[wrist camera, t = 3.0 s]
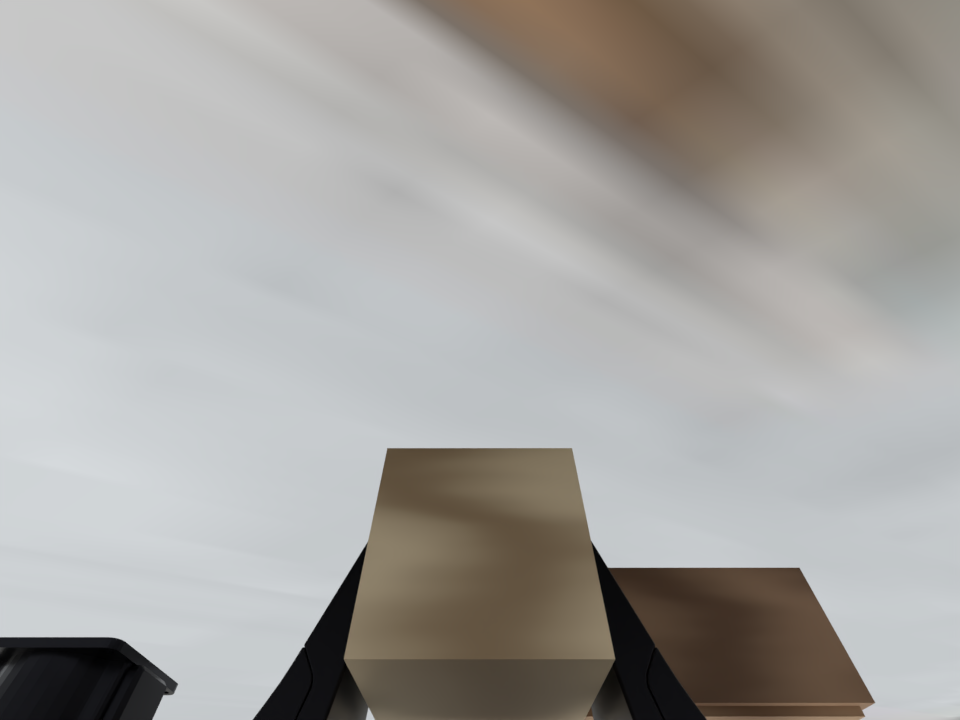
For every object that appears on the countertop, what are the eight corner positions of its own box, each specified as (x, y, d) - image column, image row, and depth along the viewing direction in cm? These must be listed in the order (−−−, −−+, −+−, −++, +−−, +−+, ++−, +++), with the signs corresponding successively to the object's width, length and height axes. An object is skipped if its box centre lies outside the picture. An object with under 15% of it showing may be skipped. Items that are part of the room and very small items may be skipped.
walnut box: (527, 680, 24) (535, 790, 20) (549, 567, 16) (567, 713, 13) (698, 680, 24) (734, 790, 20) (799, 567, 16) (881, 713, 13)
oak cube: (406, 544, 15) (380, 731, 11) (387, 447, 12) (344, 659, 8) (553, 545, 15) (578, 731, 11) (571, 447, 12) (615, 659, 8)
